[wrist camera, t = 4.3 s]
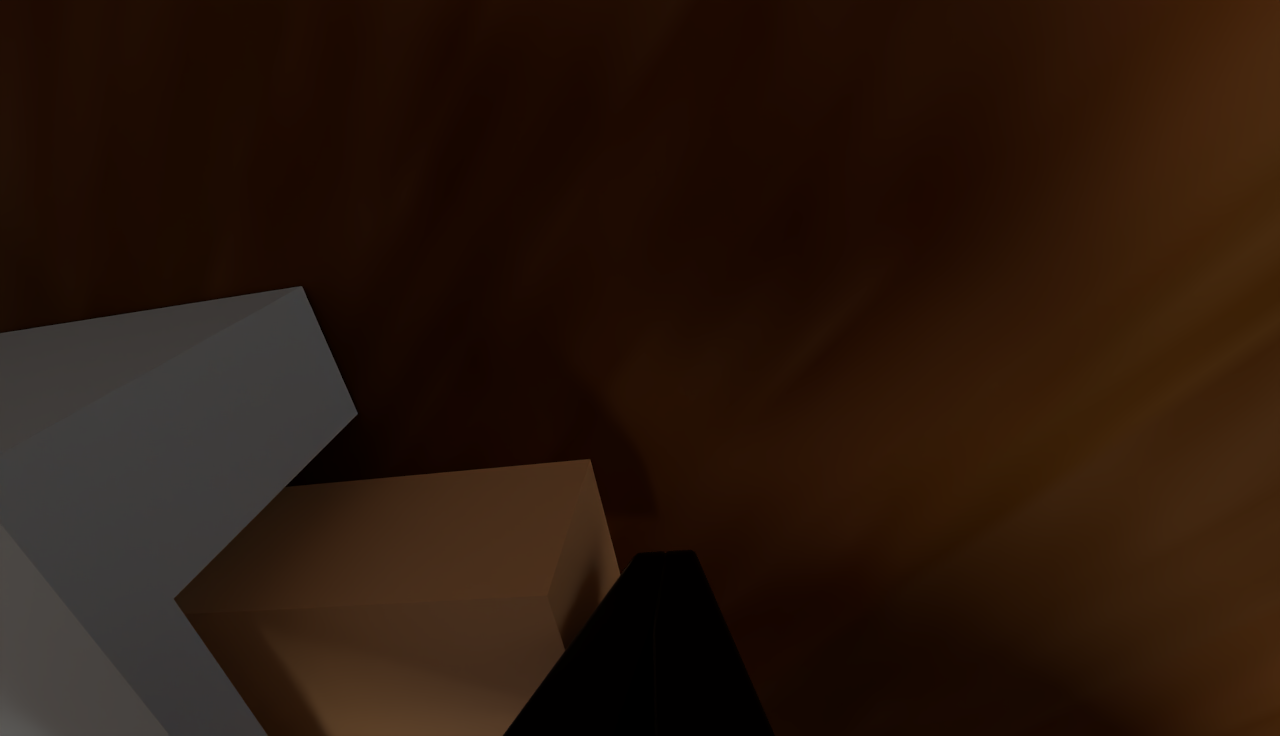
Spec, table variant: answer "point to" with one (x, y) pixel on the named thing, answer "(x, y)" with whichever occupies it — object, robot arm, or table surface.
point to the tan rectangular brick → (406, 599)
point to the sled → (143, 501)
